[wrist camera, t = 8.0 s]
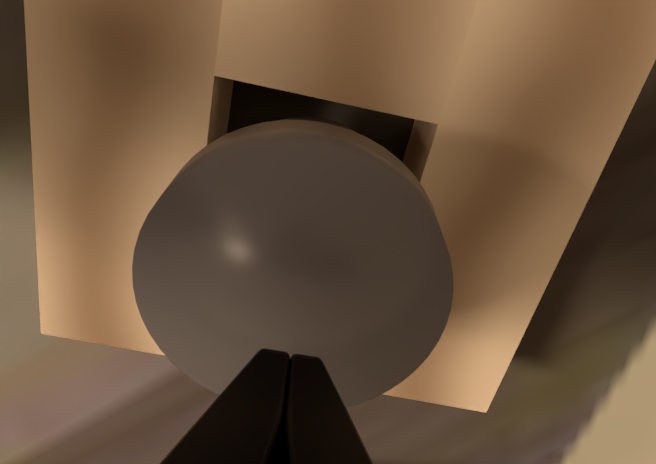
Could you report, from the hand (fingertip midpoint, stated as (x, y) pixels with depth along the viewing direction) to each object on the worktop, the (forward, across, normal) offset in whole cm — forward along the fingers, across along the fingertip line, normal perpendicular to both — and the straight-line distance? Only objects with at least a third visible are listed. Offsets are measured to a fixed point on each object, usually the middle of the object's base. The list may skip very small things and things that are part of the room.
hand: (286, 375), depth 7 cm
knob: (+8, 0, +1) cm, 8 cm away
